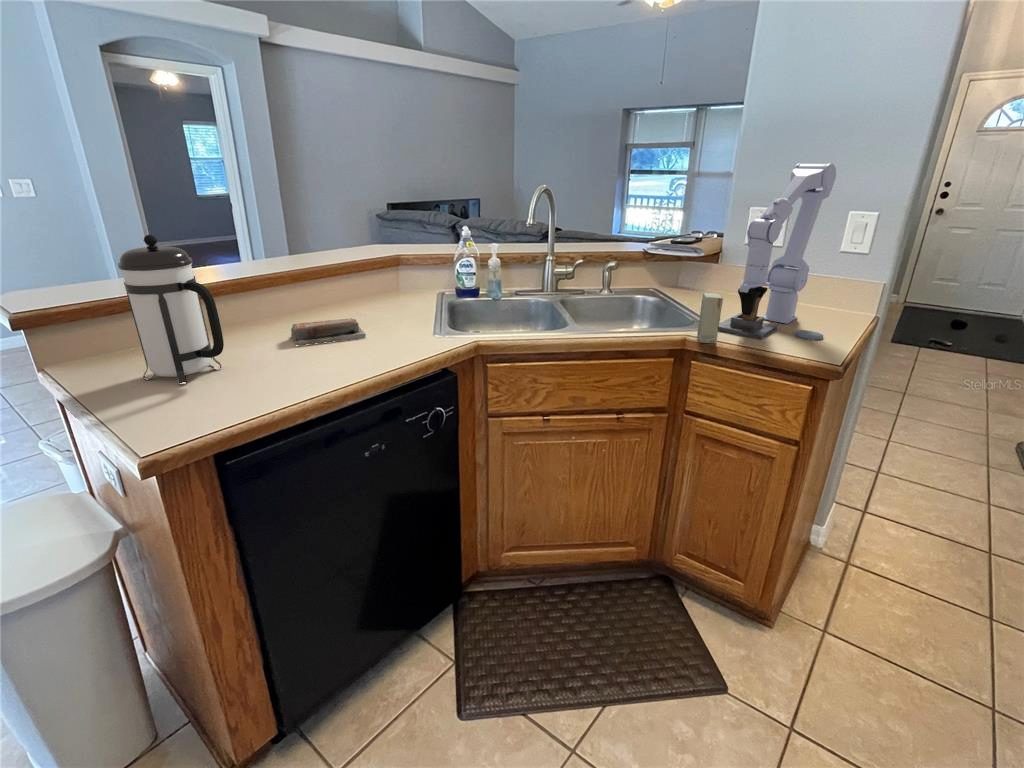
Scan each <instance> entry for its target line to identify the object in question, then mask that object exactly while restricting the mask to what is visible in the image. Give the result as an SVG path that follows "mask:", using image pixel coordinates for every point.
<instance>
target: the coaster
mask: <svg viewBox="0 0 1024 768" xmlns="http://www.w3.org/2000/svg"><path fill="white" fill-rule="evenodd" d="M794 336H795V337H797V338H799V339H803V340H808V339H809V341H821V340H823V339H824V335H823V334H822V333H820V332H817V331H813V330H804V329H803V330H800V329H799V330H796V331H794Z"/></svg>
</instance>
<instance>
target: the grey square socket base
mask: <svg viewBox="0 0 1024 768" xmlns="http://www.w3.org/2000/svg"><path fill="white" fill-rule="evenodd" d="M764 320H765V319H764V317H762V316H759V315H757V317H756V320H754V321H752V320H746V319H742V312H740V313H738V314H735V315H734V316H732V317H729V318H728V319H726V320H724V321H722V322H719V328H718V330H720V331H719V332H722V331H724V332H723V333H727V332H728V333H727V334H731V335H736V334H737V336H742V337H747V338H750V339H751V338H753V339H756V340H759V341H760V340H762V339H764V338H766V337H767V336H768V335H770V334H772V333H774V332H775V331H777V330H778V327H779V325H777V324H773V323H766V322H764Z"/></svg>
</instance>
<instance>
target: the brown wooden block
mask: <svg viewBox="0 0 1024 768" xmlns="http://www.w3.org/2000/svg"><path fill="white" fill-rule="evenodd" d="M759 301H760V302H761V300H760V297H757V299H756V301H755V303H754V306H753V310H752V312H751V314H750V315H749V316H748V315H743V314H742V319H746V320H752V321H754V320H756V317H757V316H758V312H759V306H760V302H759Z"/></svg>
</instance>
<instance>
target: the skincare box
mask: <svg viewBox="0 0 1024 768" xmlns="http://www.w3.org/2000/svg"><path fill="white" fill-rule="evenodd" d="M723 300H724V297H723V296H722V295H721V294H720V293H714V292H703V293H702V299H701V306H700V313H699V321H698V327H697V335H696V337H697V340H698V342H699V343H703V344H704V343H706V344H717V341H718V335H719V334H718V333H719V331H718V328H719V323H721V322H720V321H721V313H722V308H723Z"/></svg>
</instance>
